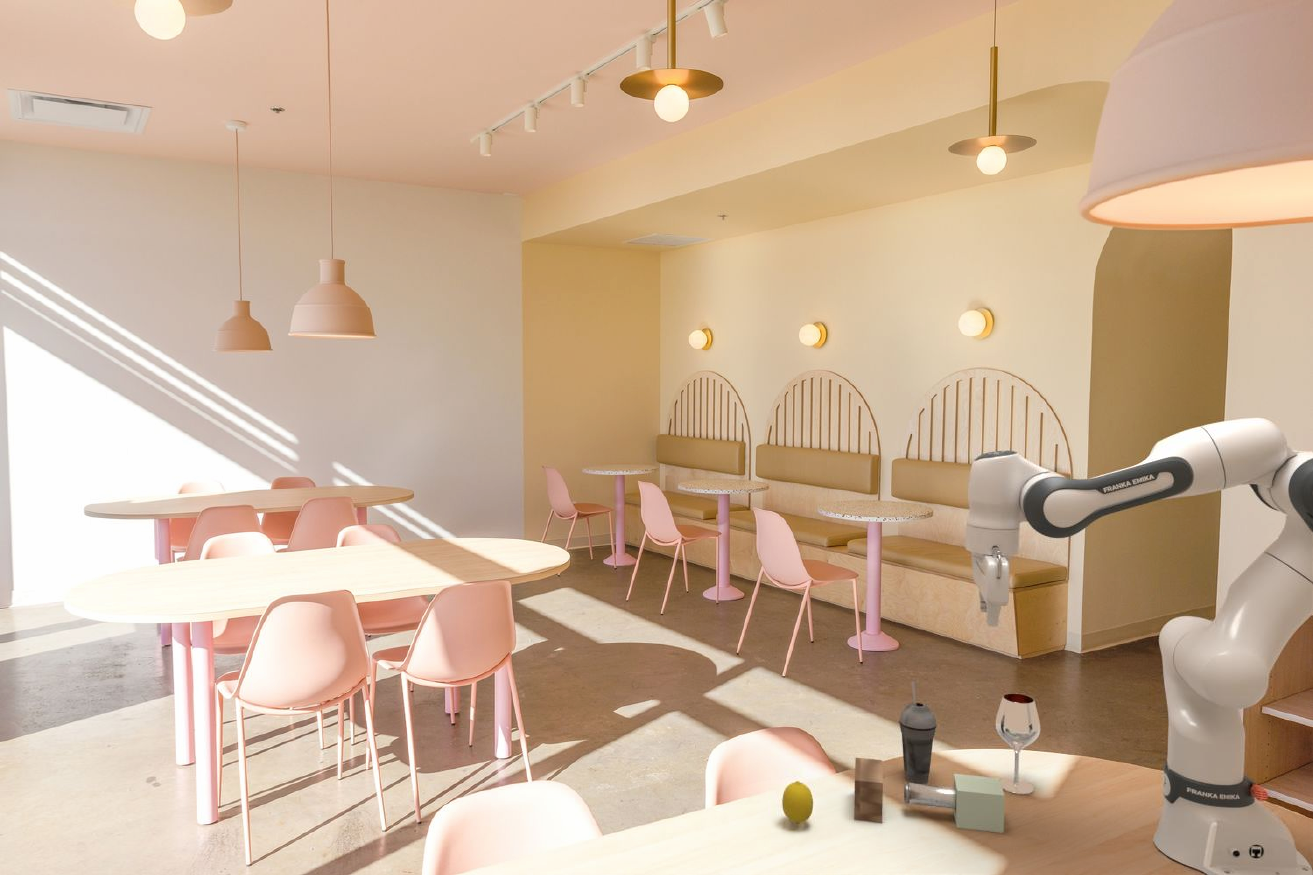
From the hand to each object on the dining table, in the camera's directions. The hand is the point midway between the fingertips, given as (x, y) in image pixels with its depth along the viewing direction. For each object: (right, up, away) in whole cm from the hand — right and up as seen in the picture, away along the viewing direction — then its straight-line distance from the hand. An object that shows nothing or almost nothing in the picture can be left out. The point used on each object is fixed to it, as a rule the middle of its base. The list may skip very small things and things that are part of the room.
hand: (988, 618), depth 157 cm
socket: (-19, -38, +9) cm, 43 cm away
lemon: (-34, -38, +3) cm, 51 cm away
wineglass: (+12, -37, +17) cm, 43 cm away
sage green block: (0, -38, +4) cm, 38 cm away
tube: (-5, -36, +5) cm, 37 cm away
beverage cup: (-7, -37, +21) cm, 43 cm away
